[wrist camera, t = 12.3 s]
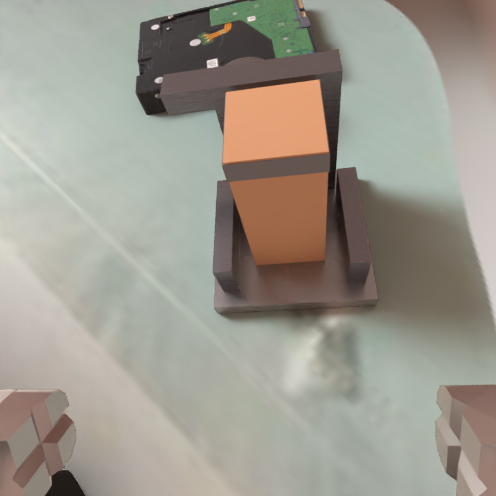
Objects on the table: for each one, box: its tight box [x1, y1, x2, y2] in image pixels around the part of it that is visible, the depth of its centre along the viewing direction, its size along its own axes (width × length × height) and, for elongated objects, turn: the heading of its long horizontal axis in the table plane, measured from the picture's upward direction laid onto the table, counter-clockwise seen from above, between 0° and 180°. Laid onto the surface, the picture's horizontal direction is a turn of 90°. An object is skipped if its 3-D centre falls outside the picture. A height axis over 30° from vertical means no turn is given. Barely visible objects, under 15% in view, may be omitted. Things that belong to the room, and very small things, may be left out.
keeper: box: [160, 49, 378, 313], centre depth 20 cm, size 9×10×10 cm
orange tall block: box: [222, 80, 330, 265], centre depth 19 cm, size 4×4×9 cm
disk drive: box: [136, 0, 318, 115], centre depth 33 cm, size 10×3×15 cm
